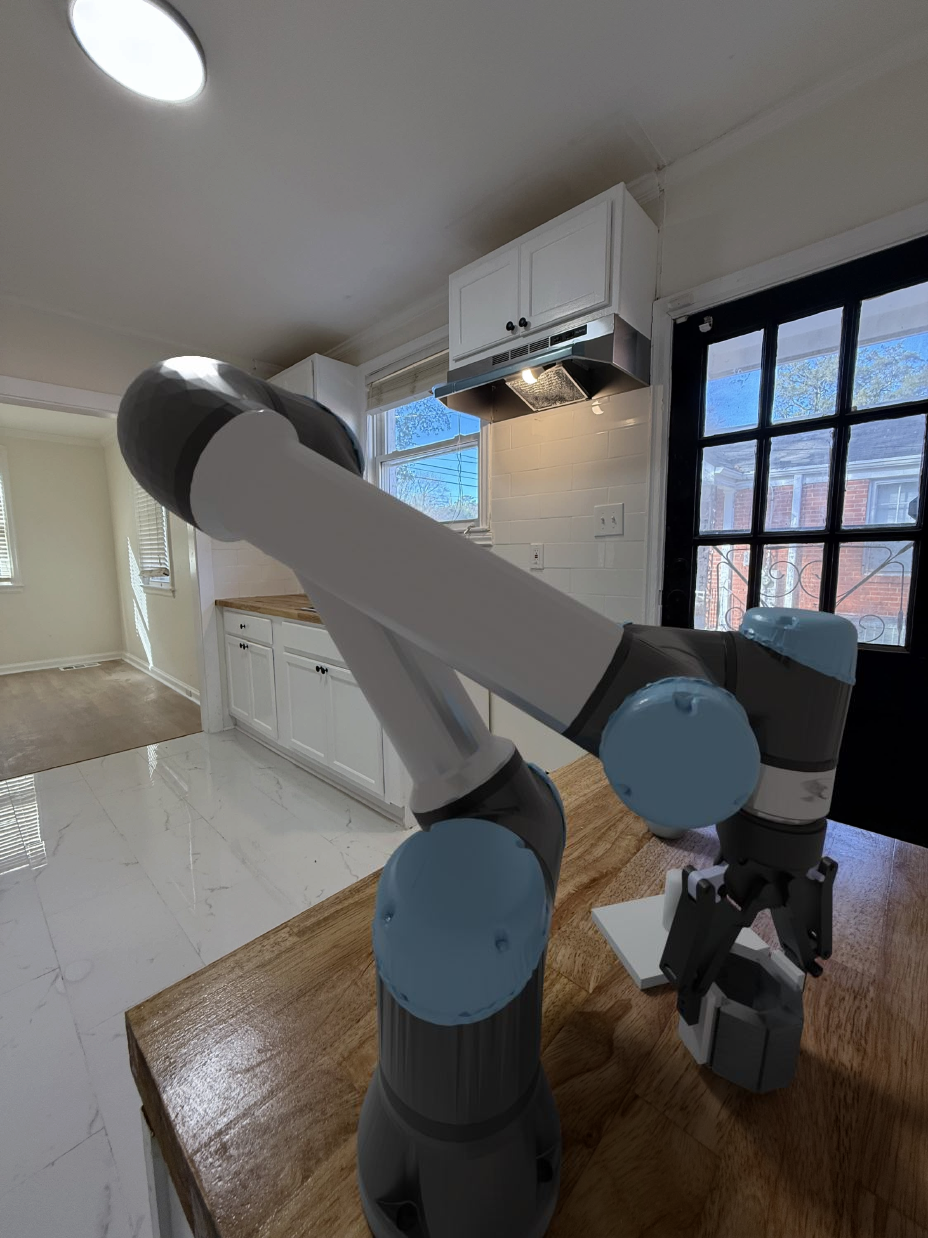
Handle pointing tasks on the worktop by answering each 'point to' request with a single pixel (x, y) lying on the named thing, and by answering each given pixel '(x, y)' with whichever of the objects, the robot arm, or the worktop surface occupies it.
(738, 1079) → the ring
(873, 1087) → the worktop surface
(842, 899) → the worktop surface
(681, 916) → the robot arm
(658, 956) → the shaft stand
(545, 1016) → the worktop surface
